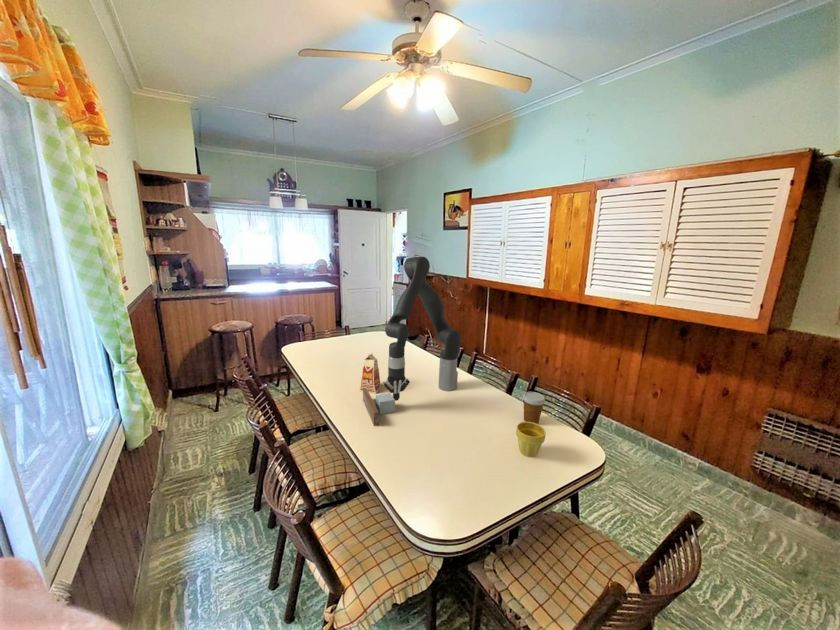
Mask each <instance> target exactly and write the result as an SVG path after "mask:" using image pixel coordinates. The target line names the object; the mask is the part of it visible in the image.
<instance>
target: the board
mask: <svg viewBox="0 0 840 630" xmlns="http://www.w3.org/2000/svg"><path fill="white" fill-rule="evenodd" d="M362 401H363V403H365V404H364V406H365V408H366V411H367V413H368V415H369V418H370V421H371V423H372V425H373V427H374V426H375V427H376V426H379V412H378V410H377V408H376V403H375V402H374V400H373V398H372V396H371V393H369V391H368V389H367V388H364V389H363V392H362Z"/></svg>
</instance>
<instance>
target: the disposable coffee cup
mask: <svg viewBox="0 0 840 630" xmlns="http://www.w3.org/2000/svg"><path fill="white" fill-rule="evenodd" d="M522 399H523V422H532V423H536V424H538V425H539V423H540V418H541V415H542V411H543V407H544V405H545V403H546V398H545V396H544V395H543V394H541V393H539V392H535V391H526V392H524V393H523V395H522Z"/></svg>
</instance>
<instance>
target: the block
mask: <svg viewBox="0 0 840 630" xmlns="http://www.w3.org/2000/svg"><path fill="white" fill-rule="evenodd" d="M395 403H396V401H395V399H394V398H393V394H392V393H390V392H389V393H382V394H376V395H375V406H376V408H377V410H378V415H385V414H390V413H394V412H395V411H396V410H395V408H396V407H395V406H396V404H395Z"/></svg>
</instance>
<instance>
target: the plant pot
mask: <svg viewBox="0 0 840 630" xmlns="http://www.w3.org/2000/svg"><path fill="white" fill-rule="evenodd" d="M546 434H547V431H546V429H545V428H544V427H543V426H542V425H540V424H539V423H538V424H536V423H532V422H525V421H522V422H519V423H517V425H516V429H515V435H516V437H517V440H518V449H519V452H520V454H522V455H523V456H525V457H528V458H534V457H537V456H538V454H539V451H540V449H541V446H542V444H544V442H545V440H546Z"/></svg>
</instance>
